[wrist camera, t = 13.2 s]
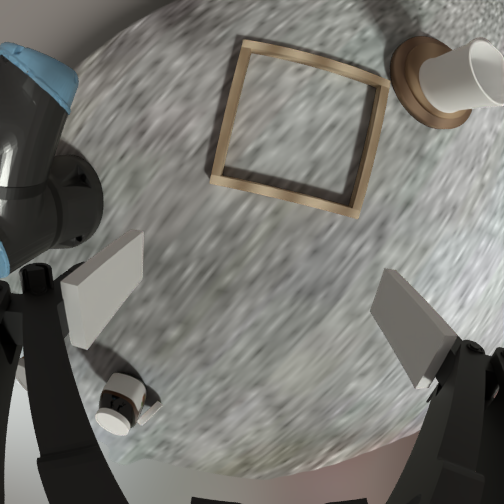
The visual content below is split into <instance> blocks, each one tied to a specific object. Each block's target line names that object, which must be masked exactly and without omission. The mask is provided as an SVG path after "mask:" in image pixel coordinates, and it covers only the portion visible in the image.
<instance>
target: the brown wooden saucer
mask: <svg viewBox="0 0 504 504" xmlns="http://www.w3.org/2000/svg"><path fill="white" fill-rule="evenodd" d="M450 51H452V49H450V48H449V47H448V46H447V45H445V44H444V43H442V42H440V41H438V40H436V39H433V38H430V37H425V36H418V37H413V38H411V39H408V40H407V41H405V42H404V43H403V44H401V45H400V46H399V47H398V48H397V49H396V50H395V52H394V53H393V56H392V59H391V63H390V75H391V81H392V85H393V88H394V90H395V93H396V95H397V97H398V99H399V101H400V102H401V104H402V105H403V107H404V108H405V109H406V110H407V111H408V113H409V114H410V115H411V116H413V117H414V118H415V119H416V120H417V121H419V122H420V123H422V124H424V125H426V126H428V127H431V128H435V129H452V128H456V127H458V126H460V125H462V124H463V123H464V122H465V121H466V120H467V119H468V117H469V116H470V114H471V111H472V109H466V110H458V111H456V112H454V113H445V112H442V111H439V110H438V109H436V108H435V107H434V106H433V105H431V104H430V102H429V101H428V100H427V99H426V97H425V95H424V94H423V92H422V89H421V86H420V82H419V70H420V67H421V65H422V64H423V63H424V62H425V61H426V60H428V59H430V58H436V57H438V56H441V55H443V54H445V53H447V52H450Z"/></svg>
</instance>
